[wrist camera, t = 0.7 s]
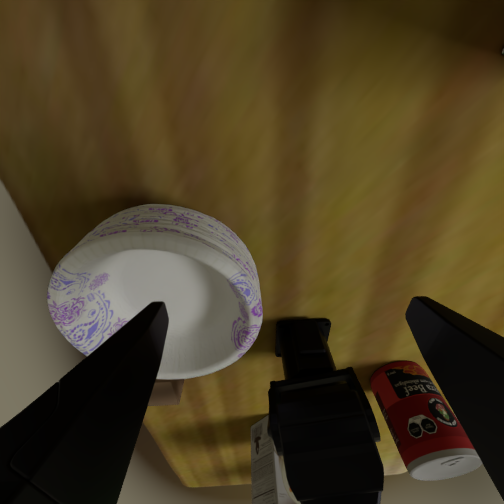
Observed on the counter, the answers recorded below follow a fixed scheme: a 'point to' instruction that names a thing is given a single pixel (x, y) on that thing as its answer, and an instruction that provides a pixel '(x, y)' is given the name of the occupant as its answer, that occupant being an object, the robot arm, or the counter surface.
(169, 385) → the walnut block
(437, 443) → the canned food
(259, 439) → the coffee box
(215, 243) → the paper bowls
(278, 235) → the counter surface
